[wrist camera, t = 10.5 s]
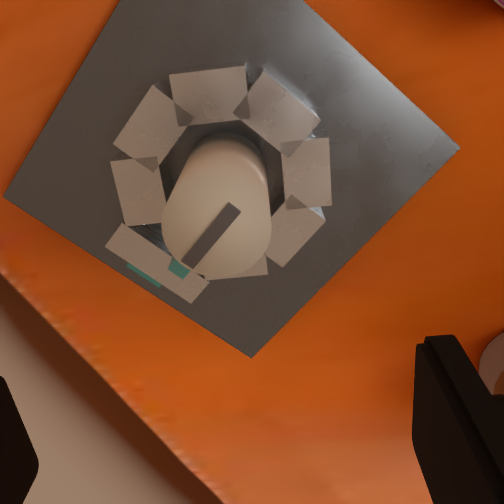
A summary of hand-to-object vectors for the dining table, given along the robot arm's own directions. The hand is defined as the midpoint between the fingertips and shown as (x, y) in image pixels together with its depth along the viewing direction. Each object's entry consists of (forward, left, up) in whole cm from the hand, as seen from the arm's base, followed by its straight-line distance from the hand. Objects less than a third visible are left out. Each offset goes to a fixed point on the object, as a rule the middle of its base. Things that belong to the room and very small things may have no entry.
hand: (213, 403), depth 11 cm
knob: (0, -1, -17) cm, 17 cm away
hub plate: (0, -1, -18) cm, 18 cm away
